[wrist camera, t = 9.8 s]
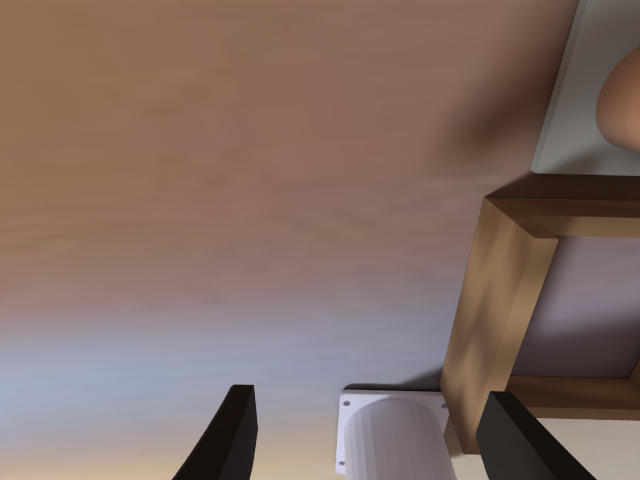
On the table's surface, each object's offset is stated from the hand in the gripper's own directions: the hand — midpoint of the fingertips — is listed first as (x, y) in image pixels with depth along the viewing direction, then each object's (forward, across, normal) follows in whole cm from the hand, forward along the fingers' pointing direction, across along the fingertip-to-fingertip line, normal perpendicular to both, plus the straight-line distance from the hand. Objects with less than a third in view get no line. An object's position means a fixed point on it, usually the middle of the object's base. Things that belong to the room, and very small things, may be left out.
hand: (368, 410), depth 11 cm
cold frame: (+10, -14, +4) cm, 18 cm away
